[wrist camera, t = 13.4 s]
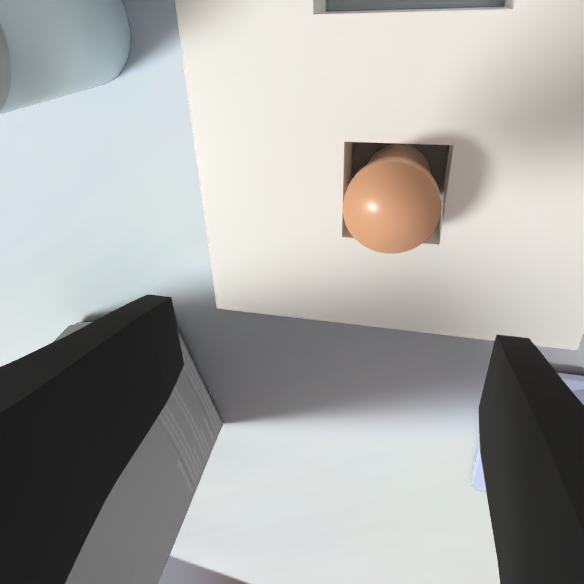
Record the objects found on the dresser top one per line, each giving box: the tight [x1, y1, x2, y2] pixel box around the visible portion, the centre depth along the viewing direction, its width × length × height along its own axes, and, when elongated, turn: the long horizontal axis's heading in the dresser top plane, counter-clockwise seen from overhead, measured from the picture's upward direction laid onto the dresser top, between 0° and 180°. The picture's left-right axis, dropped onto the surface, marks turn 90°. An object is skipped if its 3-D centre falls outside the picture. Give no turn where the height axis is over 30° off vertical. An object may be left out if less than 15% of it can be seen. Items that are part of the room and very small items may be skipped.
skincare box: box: [54, 322, 223, 584], centre depth 20 cm, size 8×7×16 cm
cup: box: [0, 0, 131, 114], centre depth 15 cm, size 4×4×7 cm
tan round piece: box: [342, 144, 441, 254], centre depth 16 cm, size 3×3×3 cm
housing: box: [175, 0, 584, 351], centre depth 15 cm, size 14×20×2 cm
